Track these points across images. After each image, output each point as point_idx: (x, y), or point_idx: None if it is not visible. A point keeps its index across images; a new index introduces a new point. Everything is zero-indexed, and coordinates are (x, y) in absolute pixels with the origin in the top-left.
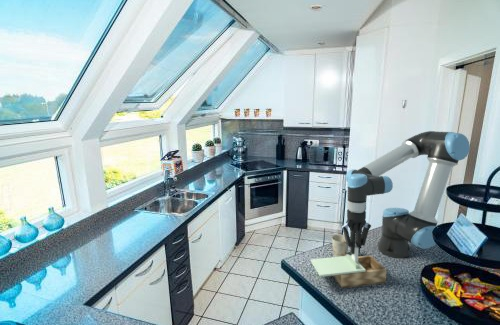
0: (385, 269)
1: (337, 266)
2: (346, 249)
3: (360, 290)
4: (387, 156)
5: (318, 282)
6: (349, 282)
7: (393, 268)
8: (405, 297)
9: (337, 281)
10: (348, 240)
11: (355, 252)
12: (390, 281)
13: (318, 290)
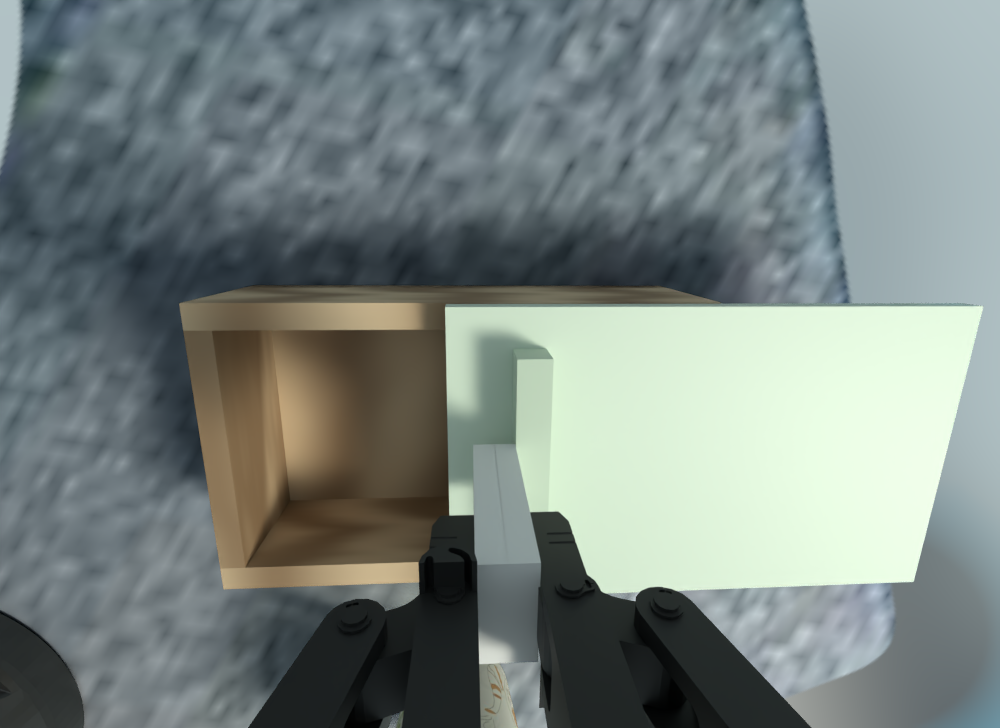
0: (188, 311)
1: (720, 424)
2: None
3: (522, 233)
4: None
5: None
6: (606, 290)
7: (77, 466)
8: (177, 63)
9: None
10: (785, 725)
11: (526, 512)
12: None
13: (847, 295)
